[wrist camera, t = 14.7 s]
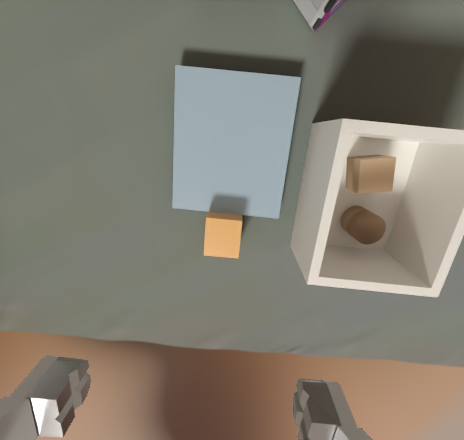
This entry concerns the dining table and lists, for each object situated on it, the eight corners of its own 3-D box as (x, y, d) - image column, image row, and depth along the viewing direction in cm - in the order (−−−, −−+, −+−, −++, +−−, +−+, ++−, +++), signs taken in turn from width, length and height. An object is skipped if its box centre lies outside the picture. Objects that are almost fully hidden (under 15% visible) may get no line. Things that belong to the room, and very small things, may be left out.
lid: (180, 70, 24) (169, 58, 20) (296, 81, 24) (306, 71, 20) (176, 236, 30) (166, 251, 26) (271, 246, 30) (275, 262, 26)
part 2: (368, 203, 26) (385, 211, 24) (369, 229, 27) (386, 241, 25) (339, 209, 27) (353, 218, 24) (341, 235, 27) (354, 247, 25)
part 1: (346, 157, 25) (360, 159, 22) (378, 154, 25) (396, 157, 22) (345, 187, 26) (358, 193, 23) (375, 185, 26) (392, 191, 23)
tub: (312, 123, 25) (342, 118, 17) (424, 134, 25) (504, 134, 17) (289, 245, 29) (307, 284, 21) (386, 254, 29) (437, 297, 21)
